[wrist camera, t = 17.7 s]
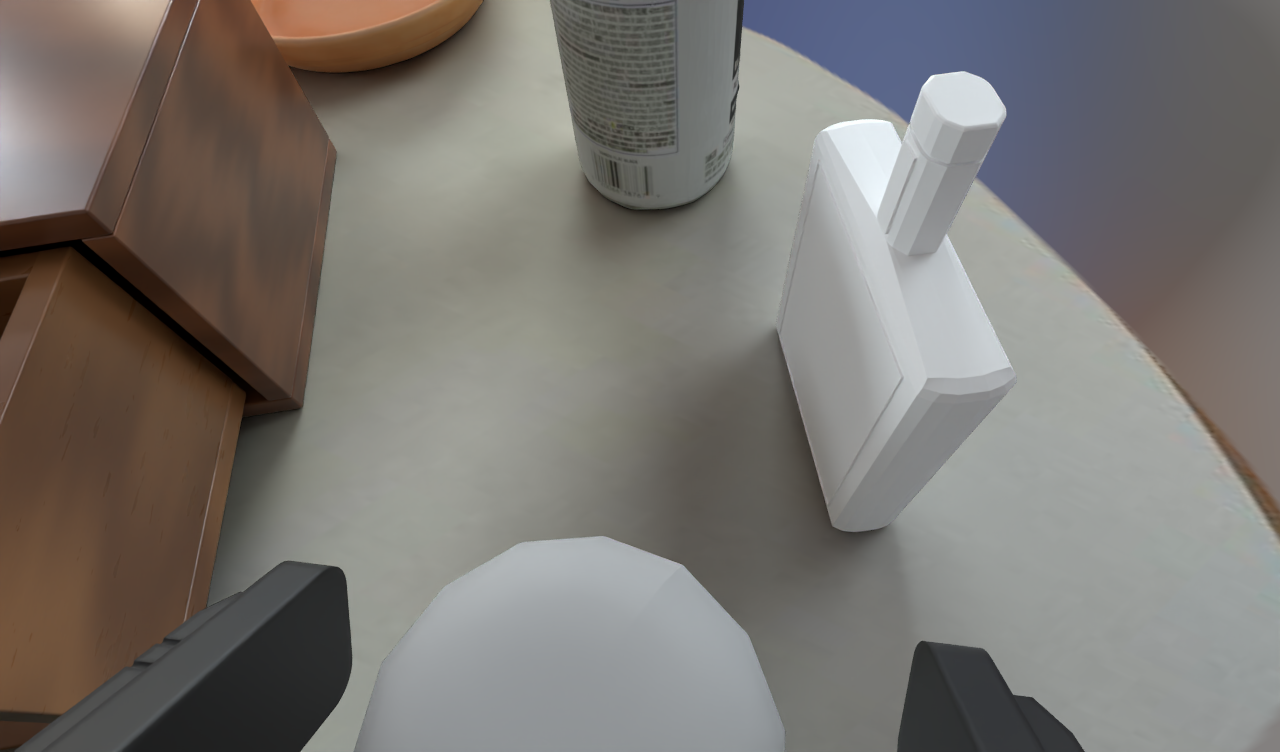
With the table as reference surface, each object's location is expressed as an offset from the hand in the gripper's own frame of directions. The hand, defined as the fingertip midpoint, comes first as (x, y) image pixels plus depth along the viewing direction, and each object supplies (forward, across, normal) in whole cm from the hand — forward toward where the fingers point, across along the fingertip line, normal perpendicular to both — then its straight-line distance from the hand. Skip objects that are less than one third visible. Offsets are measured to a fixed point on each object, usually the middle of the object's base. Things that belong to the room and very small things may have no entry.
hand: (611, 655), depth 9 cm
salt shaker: (+6, 0, +8) cm, 10 cm away
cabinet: (+16, +21, -2) cm, 26 cm away
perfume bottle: (+14, -5, 0) cm, 14 cm away
